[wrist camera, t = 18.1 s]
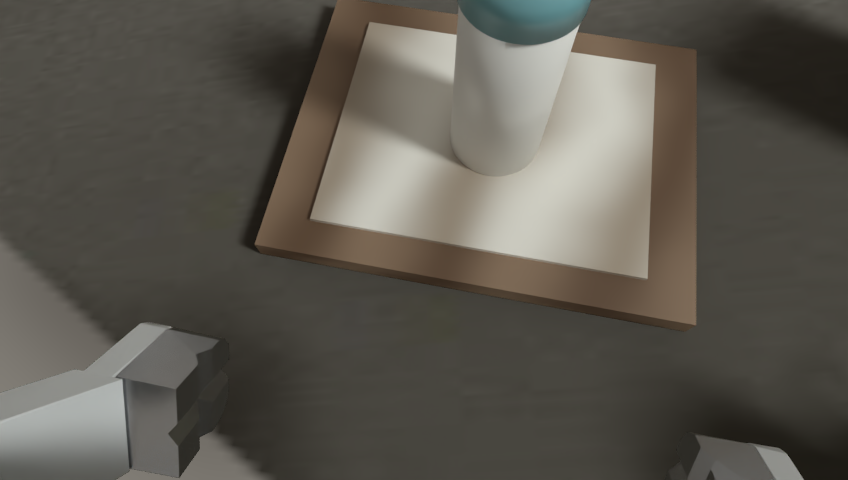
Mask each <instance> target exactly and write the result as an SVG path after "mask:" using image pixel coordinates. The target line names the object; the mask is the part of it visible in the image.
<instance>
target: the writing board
mask: <svg viewBox="0 0 848 480" xmlns="http://www.w3.org/2000/svg"><path fill="white" fill-rule="evenodd" d="M457 24H458V15H456V14H449V13H443V12H436V11H429V10H422V9H415V8H409V7H402V6H395V5H388V4H381V3H374V2H368V1H361V0H338V1H337V4H336V7H335V10H334V12H333V15H332V18H331V21H330V24H329V27H328V30H327V33H326V36H325V39H324V42H323V45H322V48H321V51H320V54H319V56H318V59H317V62H316V65H315V68H314V71H313V74H312V77H311V80H310V83H309V86H308V89H307V92H306V95H305V98H304V100H303V103H302V106H301V109H300V112H299V115H298V118H297V121H296V124H295V127H294V130H293V133H292V136H291V139H290V142H289V144H288V147H287V150H286V153H285V156H284V159H283V162H282V165H281V168H280V171H279V174H278V177H277V180H276V183H275V186H274V188H273V191H272V194H271V197H270V200H269V203H268V206H267V209H266V212H265V215H264V218H263V221H262V224H261V227H260V230H259V233H258V235H257V238H256V241H255V244H254V245H255V246H256V247H257V249H258V250H259V252H260V253H261V254H266V255H272V256H277V257H283V258H288V259H294V260H299V261H304V262H310V263H315V264H321V265H326V266H332V267H337V268H342V269H348V270H353V271H359V272H364V273H370V274H375V275H380V276H386V277H391V278H397V279H402V280H408V281H413V282H418V283H424V284H429V285H435V286H440V287H446V288H451V289H456V290H462V291H467V292H473V293H478V294H484V295H489V296H495V297H500V298H505V299H511V300H516V301H522V302H527V303H533V304H538V305H543V306H549V307H554V308H560V309H565V310H571V311H576V312H581V313H587V314H592V315H598V316H603V317H609V318H614V319H619V320H625V321H630V322H636V323H641V324H647V325H652V326H657V327H663V328H668V329H674V330H679V331H687V330H689V329H691V328H692V327H694V326H696V105H697V50H695V49H688V48H681V47H675V46H668V45H661V44H654V43H647V42H641V41H634V40H627V39H620V38H613V37H606V36H600V35H593V34H586V33H579V32H577V34H576V37H575V40H574V43H573V46H572V49H571V52H570V55H569V58H568V61H567V64H566V67H565V70H564V73H563V76H562V79H561V82H560V85H559V88H558V91H557V94H556V97H555V100H554V103H553V106H552V109H551V112H550V116H549V119H548V122H547V125H546V128H545V131H544V134H543V137H542V140H541V143H540V146H539V149H538V151H537V154H536V156H535V158H534V159H533V160H532V162H531V163H530V164H529V165H528V166H527V167H525V168H524V169H522V170H520V171H519V172H516V173H514V174H510V175H506V176H488V175H483V174H480V173H477V172H475V171H473V170H471V169H469V168H468V167H466V166H465V165H464V164H463V163H462V162H461V161H460V160H459V159H458V158H457V157H456V155H455V153H454V151H453V149H452V146H451V142H450V128H451V113H452V98H453V83H454V68H455V53H456V39H457Z"/></svg>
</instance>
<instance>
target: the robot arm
mask: <svg viewBox="0 0 848 480" xmlns="http://www.w3.org/2000/svg"><path fill="white" fill-rule="evenodd" d="M228 360H229V343H228V342H227V341H226V340H225V339H224V338H220V337H216V336H211V335H207V334H202V333H198V332H193V331H189V330H184V329H180V328H175V327H173V328H172V327H170V326H166V325H161V324H156V323H151V322H145V323H140V324H139V325H138V326H137V327H135V328H134V329H133V330H132V331H131V332H129V333H128V334H127V335H126V336H125V337H123V338H122V339H121V340H120V341H119V342H117V343H116V344H115V345H114V346H113V347H111V348H110V349H109V350H108V351H107V352H105V353H104V354H103V355H102V356H101V357H99V358H98V359H97V360H96V361H95V362H94V363H92V364H91V365H90V366H89V367H88V368H86V369H85V370H84V371H81V370H76V369H74V370H71V371H68V372H64V373H61V374H58V375H55V376H52V377H49V378H46V379H42V380H39V381H36V382H33V383H30V384H26V385H23V386H20V387H17V388H14V389H10V390H7V391H4V392H1V393H0V480H116V479H118V478H119V477H121V476H123V475H124V474H126V473H128V472H129V469H134V470H139V471H145V472H150V473H155V474H161V475H166V476H171V477H176V478H179V477H180V476H181V475H182V473H183V472H184V470H185V469H186V468H187V466H188V465H189V463H190V462H191V460H192V459H193V458H194V456H195V455H196V454H197V452H198V451H199V449H200V444H199V443H200V442H199V437H201V436H203V435H205V434H207V433H209V432H212V431H213V429H214V428H215V426H216V425H217V423H218V422H219V420H220V419H221V416H222V414H223V411H224V409H225V406H226V403H227V398H228V392H229V379H228V377H227V376H226V374H225V373H224V371H223V370H222V368H223V366H224V365H225V364H226V363H227V361H228ZM676 451H677V454H678V456H679V459H680V461H681V462H680V463H678V464H677V465H675V466H673V467H672V468H670V469H669V470H668V471H667V474H666V477H665V480H804V479H803V478H802V476H801V475H800V473H799V471H798V470H797V468H796V467H795V465H794V464H793V462H792V461H791V459H790V458H789V456H788V455H787V454H786V453H785V452H784V451H782V450H781V449H780V448H776V447H770V446H764V445H758V444H752V443H742V442H737V441H731V440H726V439H721V438H716V437H711V436H706V435H700V434H695V433H690V432H686V433H685V435H684V436H683V437H682V438H681V440H680V442H679V444H678V447H677V449H676Z"/></svg>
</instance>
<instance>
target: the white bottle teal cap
mask: <svg viewBox="0 0 848 480" xmlns="http://www.w3.org/2000/svg"><path fill="white" fill-rule="evenodd" d="M457 1H458V5H459V9H458V24H457V39H456V53H455V68H454V83H453V98H452V113H451V128H450V142H451V146H452V149H453V151H454V153H455V155H456V157H457V158H458V159H459V160H460V161H461V162H462V163H463V164H464V165H465V166H466V167H468V168H469V169H471V170H473V171H475V172H477V173H480V174H483V175H488V176H506V175H510V174H514V173H516V172H519V171H520V170H522V169H524V168H525V167H527V166H528V165H529V164H530V163H531V162H532V160H533V159H534V158H535V156H536V154H537V151H538V149H539V146H540V143H541V140H542V137H543V134H544V131H545V128H546V125H547V122H548V119H549V116H550V112H551V109H552V106H553V103H554V100H555V97H556V94H557V91H558V88H559V85H560V82H561V79H562V76H563V73H564V70H565V67H566V64H567V61H568V58H569V55H570V52H571V49H572V46H573V43H574V40H575V37H576V34H577V31H578V28H579V25H580V23H581V22H582V21H583V19H584V17H585V16H586V13H587V11H588V8H589V5H590V2H591V0H457Z"/></svg>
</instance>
